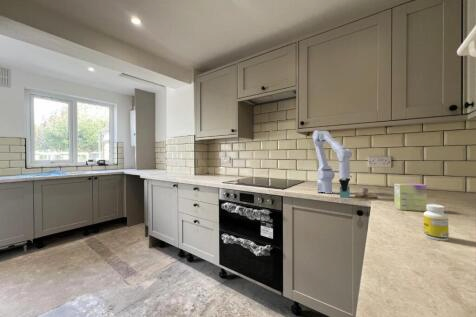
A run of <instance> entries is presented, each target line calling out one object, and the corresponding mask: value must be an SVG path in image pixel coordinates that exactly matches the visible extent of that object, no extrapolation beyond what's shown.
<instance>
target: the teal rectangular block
mask: <svg viewBox="0 0 476 317" xmlns="http://www.w3.org/2000/svg"><path fill="white" fill-rule="evenodd" d="M350 187H351V186H350V185H348V186H347V191H346V192H343V191H342V187H341V185H339V198H341V199H342V198H344V199H350V197H351V188H350Z"/></svg>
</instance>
